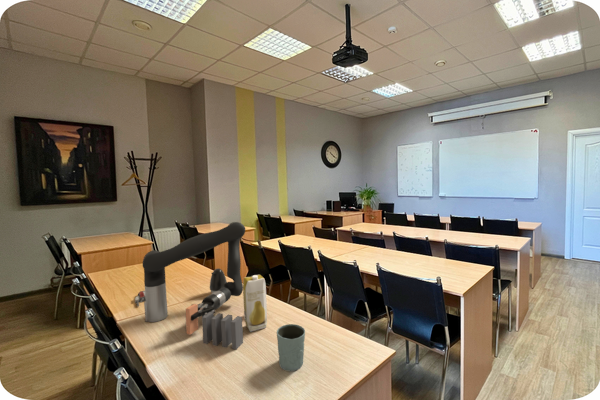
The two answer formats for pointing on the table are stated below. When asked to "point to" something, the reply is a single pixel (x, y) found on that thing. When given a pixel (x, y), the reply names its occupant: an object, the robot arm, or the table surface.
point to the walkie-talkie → (140, 298)
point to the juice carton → (255, 302)
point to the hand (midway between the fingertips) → (189, 318)
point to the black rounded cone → (217, 280)
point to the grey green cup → (291, 346)
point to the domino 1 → (191, 325)
